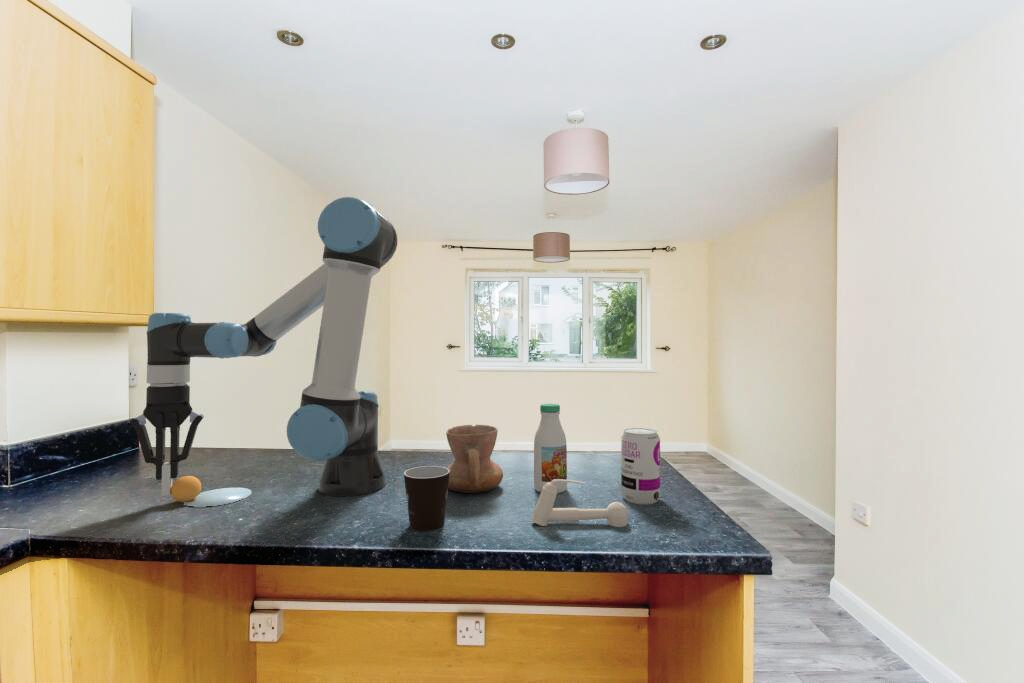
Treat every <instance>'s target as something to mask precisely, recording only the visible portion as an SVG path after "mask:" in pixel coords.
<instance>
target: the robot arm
mask: <svg viewBox="0 0 1024 683" xmlns="http://www.w3.org/2000/svg"><path fill="white" fill-rule="evenodd" d="M317 231H318V232H317V233H318V236H319V237H320V240H321V242H322V243H323V244H324V247H323V255H322V259H321V260H322V262H323V264H322V265H321V266H319V267H317V268H316V269H315V270H313V271H312V272H311V273H310V274H308V276H306V277H305V278H303V279H302V280H301V281H299V282H297V284H296V285H294V286H293V287H291V289H289V290H288V291H286V292H285V293H283V295H281V296H280V297H279V298H277V299H276V300H274V301H273V302H272V303H270V304H269V305H268V306H267V307H266V308H264V309H263V310H262V311H260V312H259V313H257V314H256V315H255V316H254V317H252V318H251V319H250V320H248V321H247V322H246V323H244V324H240V323H236V322H235V323H234V322H225V321H223V322H222V321H221V322H192V317H191V315H190V314H187V313H180V312H179V313H177V312H176V313H175V312H153V313H151V314H150V315H149V317H148V321H147V329H146V339H147V340H146V343H147V345H146V346H147V347H146V348H147V361H146V362H147V363H146V383H147V384H149V385H148V386H147V388H146V402H145V404H146V405H145V408H144V409H143V411H142V414H141V415H140V414H139V416H137V417H134V418H132V419H130V420H129V424H130V426H132V428H133V429H134V430H135V432H136V434H137V439H138V441H139V442H138V443H139V446H140V449H141V452H142V455H143V459H144V462H145V463H146V464H153V465H155V479H156V480H157V481H161V497H166V496H167V497H168V496H171V487H172V485H173V479H176V478H178V476H179V467H180V466H179V463H180V462H182V461H185V460H187V459H188V458H189V456H190V453H191V449H192V447H193V443H194V440H195V436H196V433H197V430H198V426H199V424H200V423H201V422H202V421H203V419H204V417H205V416H204V415H203V414H201V413H200V414H199V413H197V412H196V411H193V407H192V406H191V403H190V397H191V396H190V395H191V393H190V391H191V389H190V388H191V387H190V385H189V384H187V383H189V382H191V358H210V359H211V358H216V359H217V358H218V359H231V358H239V357H255V358H256V357H261V356H265V355H268V354H270V353H271V352H272V351H273V350H275V346H276V345H277V341H278V340H279V339H281V338H282V337H284V336H285V335H286V334H287V333H289V332H290V331H292V330H293V329H294V328H296V327H297V326H298V325H299V324H301V323H302V322H303V321H305V320H306V319H308V318H309V317H310V316H312V315H313V314H314V313H316V312H317V311H318V310H319V309H321V308H322V313H321V320H320V326H319V333H318V340H317V345H316V346H317V347H316V352H315V359H314V364H313V365H314V366H313V370H312V371H313V372H312V379H311V383H310V384H309V385H308V386H307V387H305V388H304V389H303V390H302V391H301V397H300V404H299V407H298V408H297V409H296V410H295V411H294V412H293V413H292V414H291V415H290V417H289V420H288V421H287V425H286V437H287V440H288V443H289V445H290V447H291V448H292V449H293V450H294V451H295V453H296V454H297V455H298V456H300V457H302V458H304V459H306V460H308V461H313V462H321V461H324V465H323V467H322V471H321V473H320V476H319V480H318V492H319V493H321V494H322V495H326V496H330V497H331V496H332V497H349V496H350V497H351V496H359V495H365V494H369V493H372V492H375V491H379V490H380V489H382V488H383V487H385V485H386V473H385V471H384V467H383V465H382V461H381V458H380V456H379V452H378V450H379V448H378V447H379V446H378V443H379V442H378V441H379V426H378V425H379V408H380V407H379V403H378V395H377V393H376V392H374V391H364V390H363V391H362V390H357V389H356V380H357V374H358V368H359V361H360V355H361V347H362V341H363V334H364V328H365V321H366V315H367V309H368V301H369V294H370V288H371V282H372V278H373V277H374V276H375V275H377V274H378V273H380V271H381V268H382V267H384V266H385V265H386V264H387V263H389V261H390V260H391V259H392V258H393V257H394V255H395V252H396V251H397V248H398V234H397V231H396V229H395V227H394V225H393V223H391V222H390V221H389V219H387V218H386V217H385V216H383V214H381V213H379V211H378V210H377V209H376V208H375V207H374V206H373V205H371V204H370V203H368V202H366V201H364V200H362V199H360V198H357V197H353V196H352V197H351V196H345V197H339V198H336V199H334V200H333V201H332V202H330V203H328V204H327V205H326V206H325V207H324V209H322V211H321V213H320V215H319V218H318V220H317ZM188 417H189V422H190V423H191V424H190V425H189V428H188V431H187V435H186V438H185V442H184V445H183V447H182V451H181V453H180V431H181V425H183V423H184V422H185V421H186V420H187V419H188ZM147 420H148V421H149V423H150V424H151V425H152V426H153V427H154V428H155V429H154V432H155V452H154V451H153V446H152V443H151V440H150V436H149V434H148V430H147V428H146V427H147V426H146V424H147ZM167 428H168V429H169V428H170V430H169V432H170V442H169V443H170V448H169V450H170V452H169V453H170V455H169V456H170V457H169V462H167V461H166V430H167ZM154 453H155V454H154ZM165 461H166V462H165Z"/></svg>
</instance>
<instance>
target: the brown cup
mask: <svg viewBox="0 0 1024 683" xmlns="http://www.w3.org/2000/svg"><path fill="white" fill-rule="evenodd" d="M449 474H450V470H449V469H448V468H447V467H445V466H439V465H424V466H423V465H422V466H421V465H420V466H415V467H412V468H409V469H406V470H405V471H404V472H403V478H404V480H403V481H404V487H405V496H406V503H407V513H408V520H409V521H408V522H409V527H410V529H411V530H414V531H417V532H431V531H436V530H438V529H441V528H443V526H444V525H445V519H446V508H447V502H448V501H447V499H448V493H449V492H448V491H449V488H448V483H449Z"/></svg>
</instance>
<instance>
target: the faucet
mask: <svg viewBox="0 0 1024 683" xmlns="http://www.w3.org/2000/svg"><path fill="white" fill-rule="evenodd" d="M562 482H567V483H573V484H583V485H584V484H585V485H586V484H588V483H587V482H585V481H578V480H572V479H567V480H563V479H554V480H552V481H551V483H550V482H548V483H546V484H545V485H544V486H543V488H542V491H541V492H540V494H539V496H538V500H537V501H536V504H535V507H534V509H533V513H532V514H531V515H532V516H531V517H530V520H531V522H532V523H534V524H537V525H539V526H542V527H547V526H548V524H549V522H552V523H553V522H563V523H564V522H567V523H568V522H580V521H586V520H588V521H589V520H603V519H607V525H609V526H610V527H617V528H623V527H626V526H627V525H628V515H629V513H628V509H627V507H626V506H625V505H624V504H623V503H622V502H620V501H613V502H610V503H609V505H607V507H606V508H579V507H553V506H554V503H555V500H556V497H557V494H558V493H557V487H556V485H555V484H556V483H562Z"/></svg>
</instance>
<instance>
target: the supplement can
mask: <svg viewBox="0 0 1024 683" xmlns="http://www.w3.org/2000/svg"><path fill="white" fill-rule="evenodd" d="M659 436H660V435H659V434H658V431H657V430H656V429H651V428H643V427H635V428H634V427H630V428H625V429H624V430H623V433H622V435H621V436H620V450H621V451H620V456H621V457H620V459H621V460H620V462H621V464H620V468H621V470H620V472H621V473H620V474H621V476H620V477H621V478H620V479H621V480H620V481H621V482H620V483H621V484H620V486H621V488H620V489H621V490H620V491H621V497H622V498H624V500H625V501H627V502H628V503H632V504H636V505H643V506H644V505H653V504H656V503H657V502H658V501H659V500H660V499H661V438H660V437H659Z"/></svg>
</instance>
